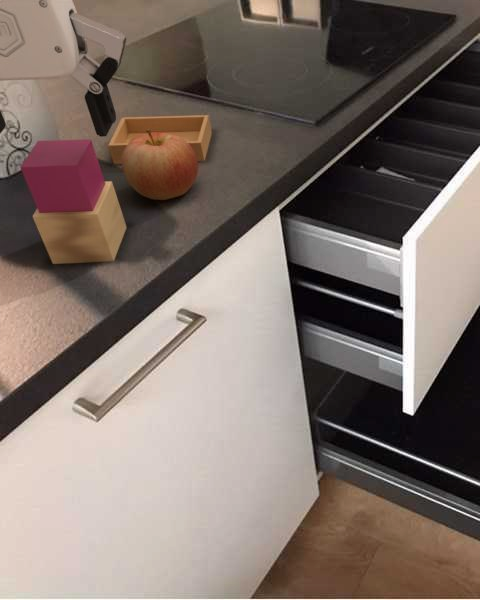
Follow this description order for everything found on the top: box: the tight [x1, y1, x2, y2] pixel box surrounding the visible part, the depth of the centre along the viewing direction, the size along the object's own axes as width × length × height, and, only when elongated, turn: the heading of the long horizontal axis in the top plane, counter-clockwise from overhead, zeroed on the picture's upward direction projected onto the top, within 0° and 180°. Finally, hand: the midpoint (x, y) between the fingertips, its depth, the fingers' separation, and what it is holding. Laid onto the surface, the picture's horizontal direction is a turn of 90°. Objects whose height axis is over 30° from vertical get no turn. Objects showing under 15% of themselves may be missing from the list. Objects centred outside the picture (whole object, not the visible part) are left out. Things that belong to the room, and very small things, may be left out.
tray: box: [107, 114, 213, 165], centre depth 83 cm, size 11×8×3 cm
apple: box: [121, 129, 199, 201], centre depth 74 cm, size 8×8×8 cm
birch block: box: [32, 180, 127, 265], centre depth 67 cm, size 6×6×6 cm
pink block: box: [20, 138, 105, 213], centre depth 63 cm, size 5×5×5 cm
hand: (51, 131), depth 60 cm, fingers open, 9 cm apart
